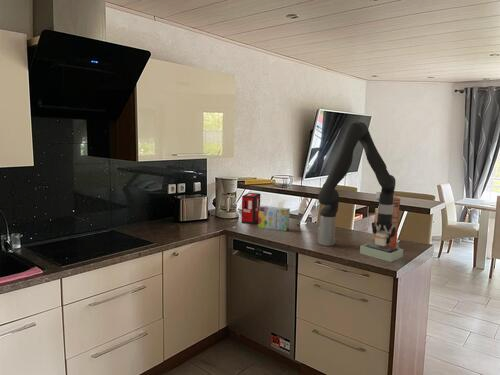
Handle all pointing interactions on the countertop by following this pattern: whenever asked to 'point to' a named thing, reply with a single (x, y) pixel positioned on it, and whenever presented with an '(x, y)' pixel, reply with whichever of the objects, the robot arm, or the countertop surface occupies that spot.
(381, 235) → the cream carton
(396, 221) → the orange tall flat container
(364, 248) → the tote
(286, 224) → the snack box
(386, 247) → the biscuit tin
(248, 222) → the cleaning product box
